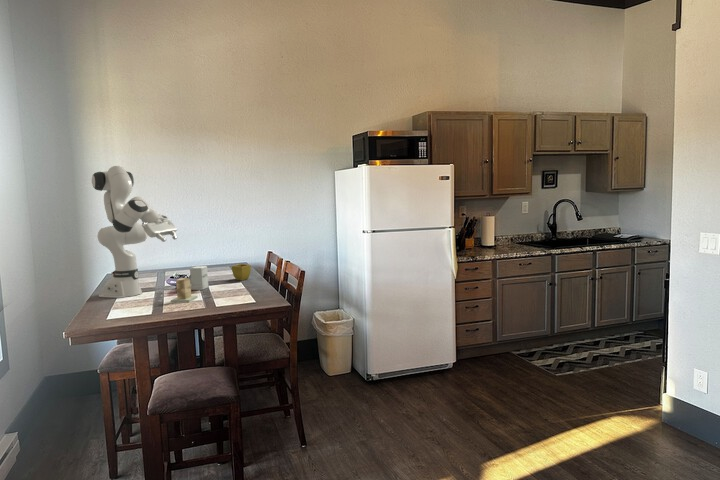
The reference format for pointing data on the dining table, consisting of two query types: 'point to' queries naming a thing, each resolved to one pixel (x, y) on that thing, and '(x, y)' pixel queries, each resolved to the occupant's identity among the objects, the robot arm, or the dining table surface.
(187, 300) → the tile
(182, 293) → the beech block
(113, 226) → the robot arm
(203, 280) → the supplement box
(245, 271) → the flower pot
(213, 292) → the dining table surface
